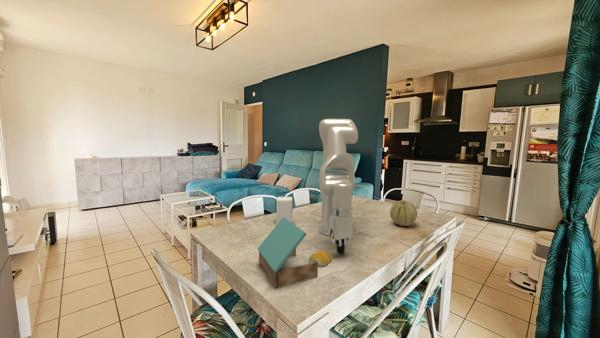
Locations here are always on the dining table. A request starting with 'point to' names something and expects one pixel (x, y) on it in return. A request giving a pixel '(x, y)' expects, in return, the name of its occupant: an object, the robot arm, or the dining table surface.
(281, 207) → the supplement box
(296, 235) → the lid
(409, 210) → the cantaloupe
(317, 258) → the bread roll
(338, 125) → the robot arm
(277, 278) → the brown wooden box
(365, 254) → the dining table surface
